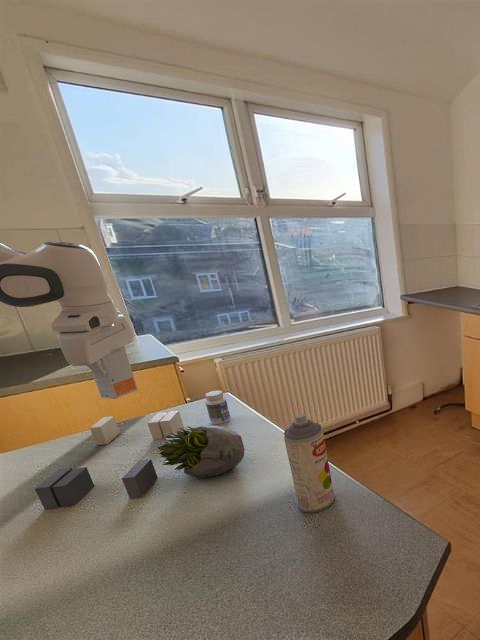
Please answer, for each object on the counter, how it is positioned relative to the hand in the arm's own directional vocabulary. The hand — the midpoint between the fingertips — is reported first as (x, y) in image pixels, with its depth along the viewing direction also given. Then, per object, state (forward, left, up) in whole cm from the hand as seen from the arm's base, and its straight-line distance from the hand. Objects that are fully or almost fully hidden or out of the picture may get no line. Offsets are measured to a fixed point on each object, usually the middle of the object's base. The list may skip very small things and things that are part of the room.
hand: (112, 371), depth 105 cm
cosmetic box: (0, 0, -6) cm, 6 cm away
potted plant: (+24, -23, -18) cm, 38 cm away
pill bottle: (+18, +5, -18) cm, 26 cm away
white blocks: (+1, 0, -18) cm, 18 cm away
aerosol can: (+49, -40, -18) cm, 66 cm away
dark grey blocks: (+6, -26, -18) cm, 32 cm away
